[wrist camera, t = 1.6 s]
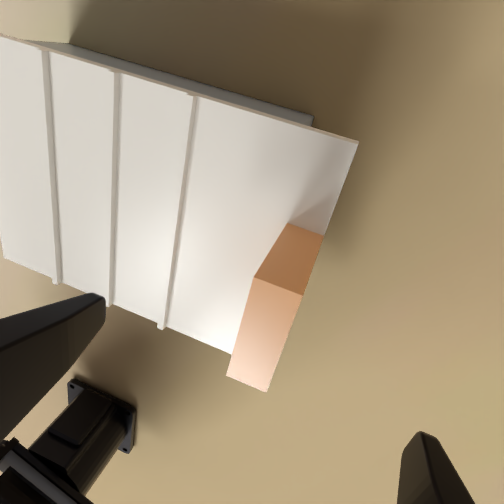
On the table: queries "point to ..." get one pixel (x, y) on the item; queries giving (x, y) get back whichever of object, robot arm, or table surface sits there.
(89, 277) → the lid
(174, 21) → the table surface
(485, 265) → the table surface
